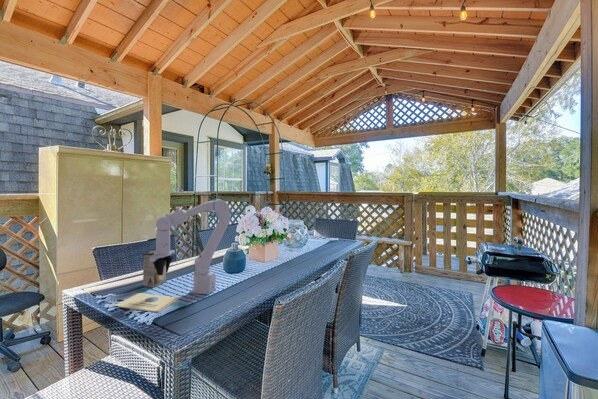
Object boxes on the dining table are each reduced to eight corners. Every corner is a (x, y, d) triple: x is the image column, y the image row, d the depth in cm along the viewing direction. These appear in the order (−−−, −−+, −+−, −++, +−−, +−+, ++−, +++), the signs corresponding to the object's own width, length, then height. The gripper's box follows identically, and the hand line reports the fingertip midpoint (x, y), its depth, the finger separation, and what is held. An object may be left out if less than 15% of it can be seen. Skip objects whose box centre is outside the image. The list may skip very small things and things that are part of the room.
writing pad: (180, 298, 125) (180, 297, 125) (158, 312, 111) (158, 311, 111) (139, 293, 129) (139, 292, 129) (114, 306, 115) (114, 305, 115)
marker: (167, 278, 130) (167, 260, 129) (163, 280, 127) (163, 262, 126) (161, 277, 130) (161, 260, 130) (157, 279, 127) (157, 261, 127)
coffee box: (155, 280, 147) (156, 249, 146) (166, 281, 146) (167, 250, 145) (142, 286, 138) (142, 253, 137) (154, 287, 137) (154, 254, 136)
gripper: (165, 240, 135) (165, 268, 136) (143, 246, 121) (142, 277, 122) (179, 241, 134) (178, 269, 135) (158, 247, 120) (157, 279, 121)
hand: (162, 273), depth 128 cm, fingers closed on marker, 3 cm apart
